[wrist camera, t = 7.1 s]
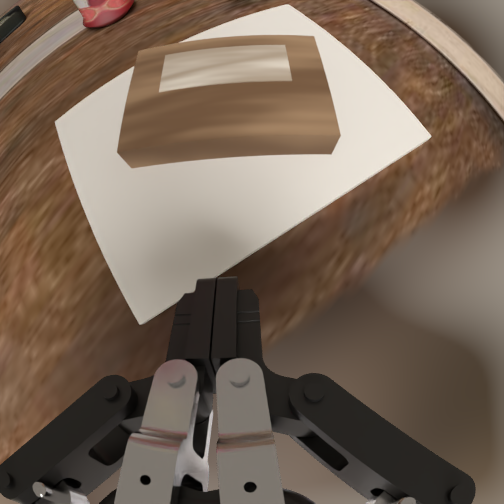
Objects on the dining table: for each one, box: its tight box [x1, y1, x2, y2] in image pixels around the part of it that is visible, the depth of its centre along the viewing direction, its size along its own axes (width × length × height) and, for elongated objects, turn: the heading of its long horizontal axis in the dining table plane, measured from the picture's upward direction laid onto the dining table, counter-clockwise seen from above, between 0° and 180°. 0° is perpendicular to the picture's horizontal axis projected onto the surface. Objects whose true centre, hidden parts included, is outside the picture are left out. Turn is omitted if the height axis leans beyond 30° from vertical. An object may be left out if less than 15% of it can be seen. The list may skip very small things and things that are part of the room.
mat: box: [55, 4, 432, 325], centre depth 20 cm, size 20×26×1 cm
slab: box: [117, 35, 341, 168], centre depth 18 cm, size 3×14×10 cm
